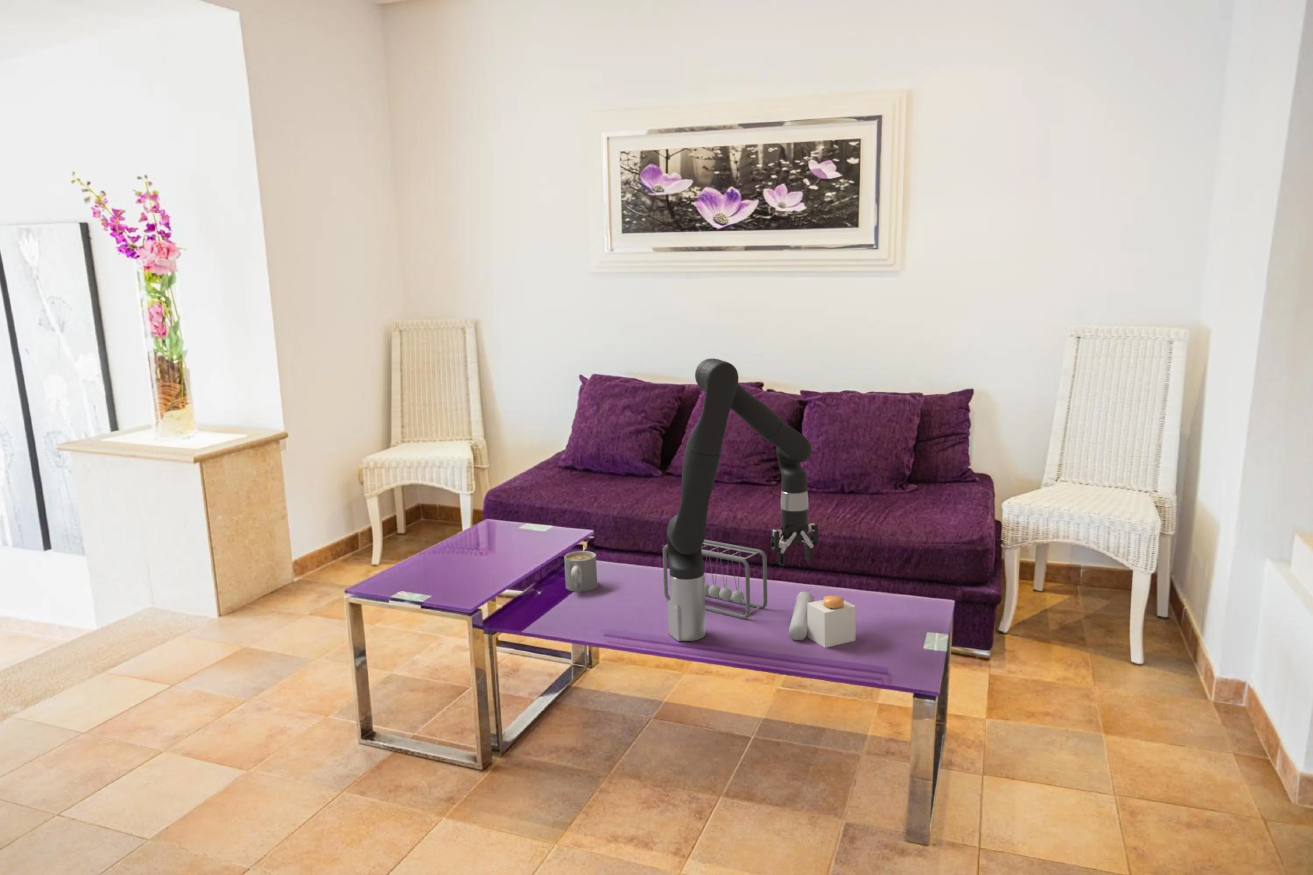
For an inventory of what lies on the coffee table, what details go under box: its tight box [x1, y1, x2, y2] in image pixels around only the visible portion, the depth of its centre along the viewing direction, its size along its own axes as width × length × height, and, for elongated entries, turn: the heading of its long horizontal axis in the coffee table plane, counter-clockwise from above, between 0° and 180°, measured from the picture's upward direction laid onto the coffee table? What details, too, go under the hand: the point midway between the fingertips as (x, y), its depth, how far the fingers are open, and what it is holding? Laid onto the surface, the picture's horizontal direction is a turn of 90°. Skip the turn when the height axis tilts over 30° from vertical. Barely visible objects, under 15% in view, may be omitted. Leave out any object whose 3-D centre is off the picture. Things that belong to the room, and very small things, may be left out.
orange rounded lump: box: [822, 594, 844, 610], centre depth 236 cm, size 5×5×4 cm
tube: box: [788, 591, 815, 641], centre depth 248 cm, size 5×5×25 cm
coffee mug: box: [563, 550, 598, 593], centre depth 283 cm, size 13×10×10 cm
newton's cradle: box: [662, 539, 768, 620], centre depth 264 cm, size 30×10×18 cm, turn 52°
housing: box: [806, 599, 857, 649], centre depth 237 cm, size 10×8×10 cm
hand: (794, 562), depth 251 cm, fingers open, 8 cm apart
